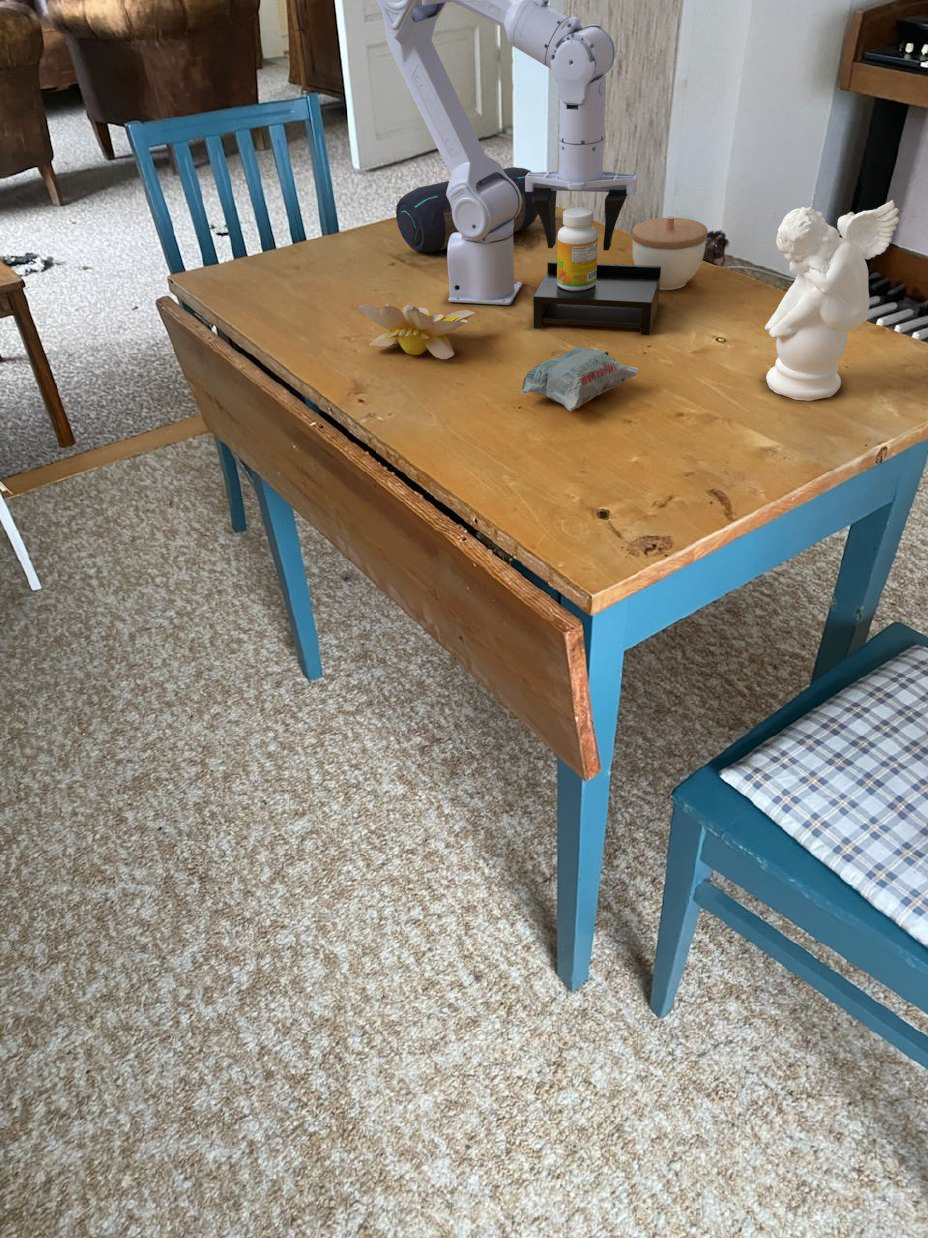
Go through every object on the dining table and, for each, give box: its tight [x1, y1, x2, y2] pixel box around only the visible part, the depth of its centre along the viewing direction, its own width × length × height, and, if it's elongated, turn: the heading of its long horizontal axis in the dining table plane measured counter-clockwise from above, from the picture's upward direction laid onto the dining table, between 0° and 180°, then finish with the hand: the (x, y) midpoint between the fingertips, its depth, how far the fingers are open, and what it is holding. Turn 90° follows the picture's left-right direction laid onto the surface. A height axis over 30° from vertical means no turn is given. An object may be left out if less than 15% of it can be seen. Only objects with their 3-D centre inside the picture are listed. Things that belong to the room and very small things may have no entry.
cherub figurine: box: [764, 199, 900, 402], centre depth 109 cm, size 12×12×22 cm
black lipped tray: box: [532, 261, 661, 336], centre depth 132 cm, size 16×10×6 cm, turn 74°
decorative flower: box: [355, 303, 475, 360], centre depth 126 cm, size 15×11×10 cm
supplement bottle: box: [556, 206, 599, 291], centre depth 129 cm, size 5×5×10 cm
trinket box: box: [631, 216, 709, 291], centre depth 139 cm, size 11×11×9 cm
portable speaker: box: [395, 166, 539, 253], centre depth 158 cm, size 25×10×10 cm, turn 119°
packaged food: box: [521, 346, 639, 412], centre depth 115 cm, size 9×12×5 cm
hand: (579, 246), depth 130 cm, fingers open, 7 cm apart
